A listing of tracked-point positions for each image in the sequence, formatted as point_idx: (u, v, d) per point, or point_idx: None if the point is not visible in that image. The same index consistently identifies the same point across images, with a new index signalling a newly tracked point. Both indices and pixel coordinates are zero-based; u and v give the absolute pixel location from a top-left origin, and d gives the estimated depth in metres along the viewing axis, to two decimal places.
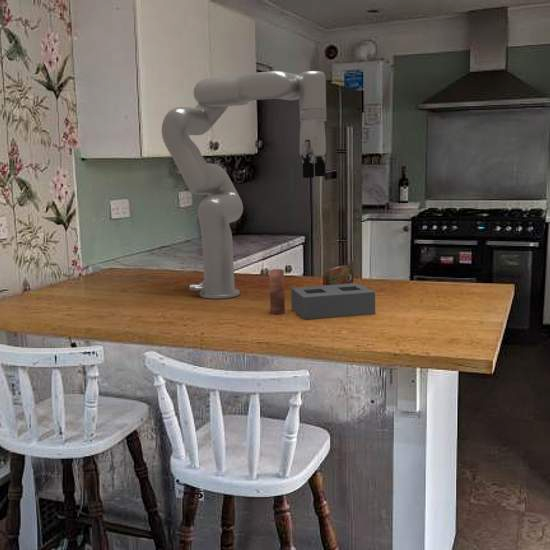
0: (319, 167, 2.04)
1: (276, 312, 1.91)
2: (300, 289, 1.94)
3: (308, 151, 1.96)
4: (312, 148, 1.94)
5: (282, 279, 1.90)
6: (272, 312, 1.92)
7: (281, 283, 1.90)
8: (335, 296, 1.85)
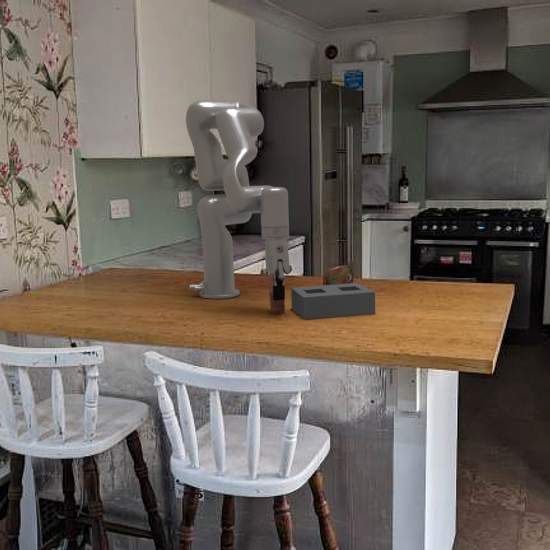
0: None
1: (276, 312, 1.91)
2: (300, 289, 1.94)
3: None
4: None
5: None
6: (272, 312, 1.92)
7: None
8: (335, 296, 1.85)
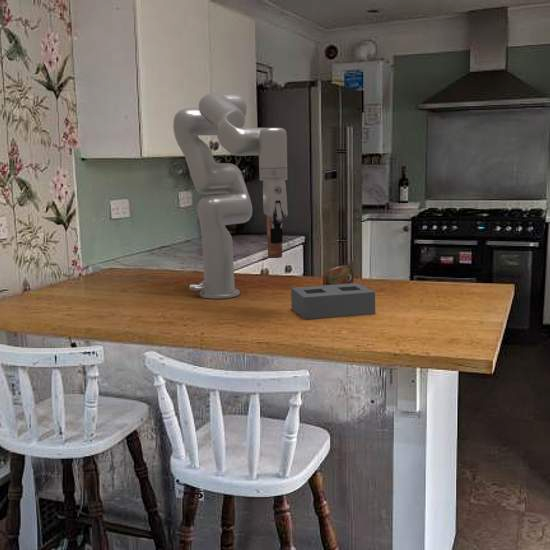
0: None
1: (273, 256, 1.89)
2: (300, 289, 1.94)
3: None
4: None
5: None
6: (269, 256, 1.89)
7: None
8: (335, 296, 1.85)
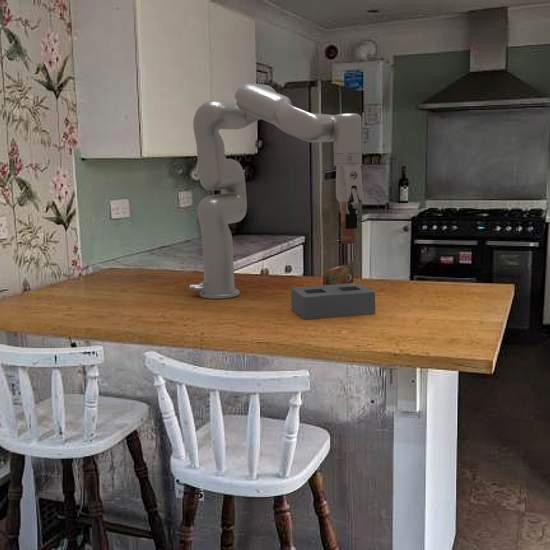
0: None
1: (348, 241, 1.89)
2: (300, 289, 1.94)
3: None
4: None
5: None
6: (343, 241, 1.90)
7: None
8: (335, 296, 1.85)
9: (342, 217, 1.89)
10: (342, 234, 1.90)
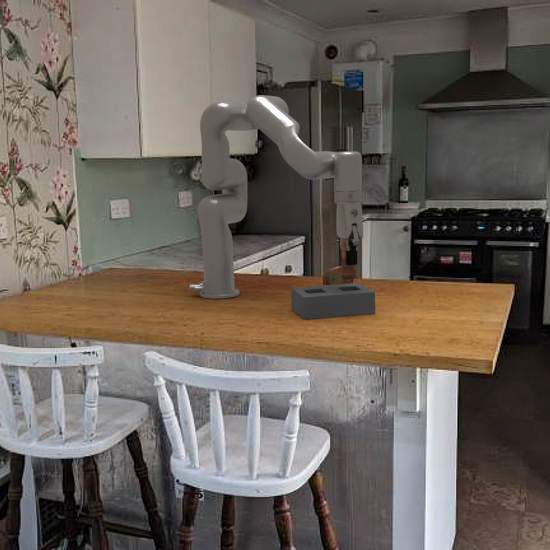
0: None
1: (348, 277, 1.91)
2: (300, 289, 1.94)
3: None
4: None
5: None
6: (344, 277, 1.91)
7: None
8: (335, 296, 1.85)
9: (342, 253, 1.91)
10: (342, 270, 1.92)
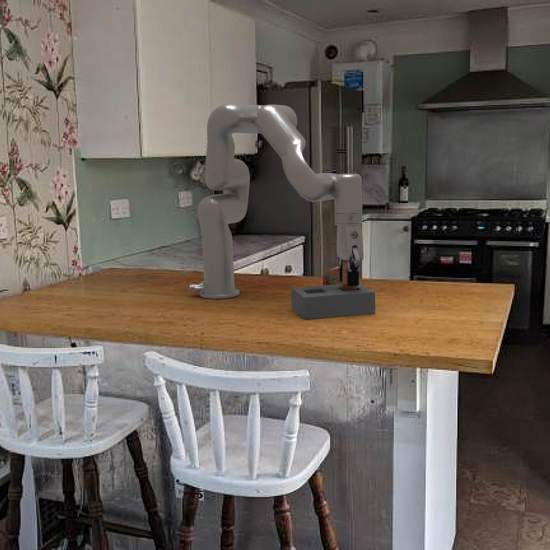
0: None
1: None
2: (300, 289, 1.94)
3: None
4: None
5: None
6: None
7: None
8: (335, 296, 1.85)
9: (343, 280, 1.92)
10: None
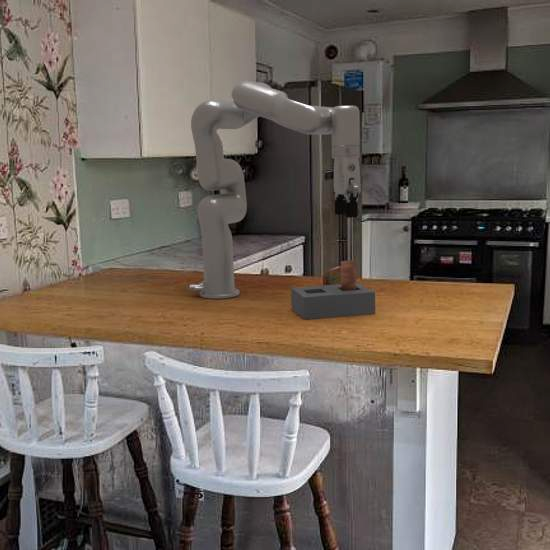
0: None
1: None
2: (300, 289, 1.94)
3: None
4: None
5: (354, 270, 1.92)
6: None
7: (353, 274, 1.91)
8: (335, 296, 1.85)
9: (342, 279, 1.92)
10: None
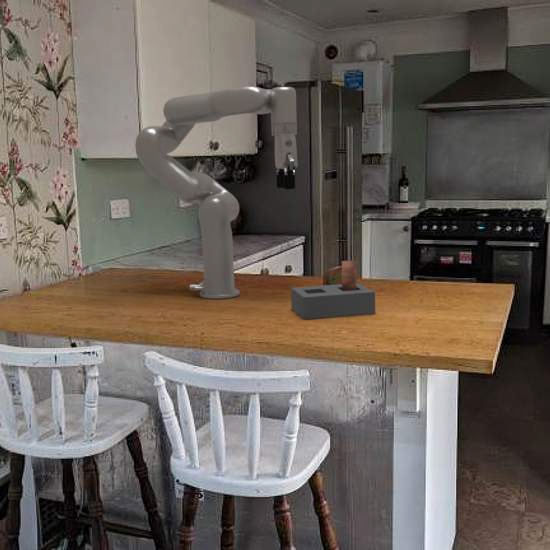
0: None
1: None
2: (300, 289, 1.94)
3: None
4: None
5: (355, 270, 1.92)
6: None
7: (354, 274, 1.91)
8: (335, 296, 1.85)
9: (343, 279, 1.92)
10: None
